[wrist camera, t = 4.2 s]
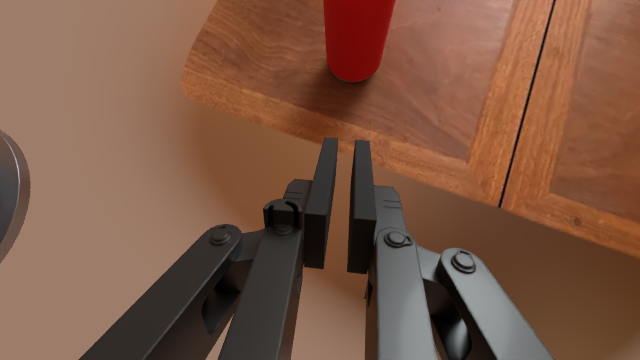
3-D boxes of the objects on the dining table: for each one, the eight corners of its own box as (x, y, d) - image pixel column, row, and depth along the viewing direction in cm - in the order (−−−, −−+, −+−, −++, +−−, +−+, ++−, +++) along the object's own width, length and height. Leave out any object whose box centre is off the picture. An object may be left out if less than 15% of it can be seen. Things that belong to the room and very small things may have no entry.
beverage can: (317, 72, 31) (305, -28, 20) (343, 33, 32) (347, -86, 21) (363, 95, 30) (380, 3, 18) (389, 53, 31) (420, -59, 20)
